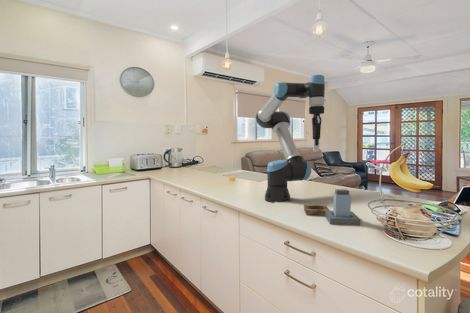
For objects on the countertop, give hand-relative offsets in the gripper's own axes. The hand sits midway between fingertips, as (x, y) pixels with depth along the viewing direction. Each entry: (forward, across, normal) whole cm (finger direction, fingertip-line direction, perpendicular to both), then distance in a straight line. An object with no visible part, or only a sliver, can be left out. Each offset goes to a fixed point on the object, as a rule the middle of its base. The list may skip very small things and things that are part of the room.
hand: (316, 151), depth 128 cm
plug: (+29, -23, -7) cm, 38 cm away
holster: (+29, -13, +2) cm, 32 cm away
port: (+29, -23, -7) cm, 38 cm away
